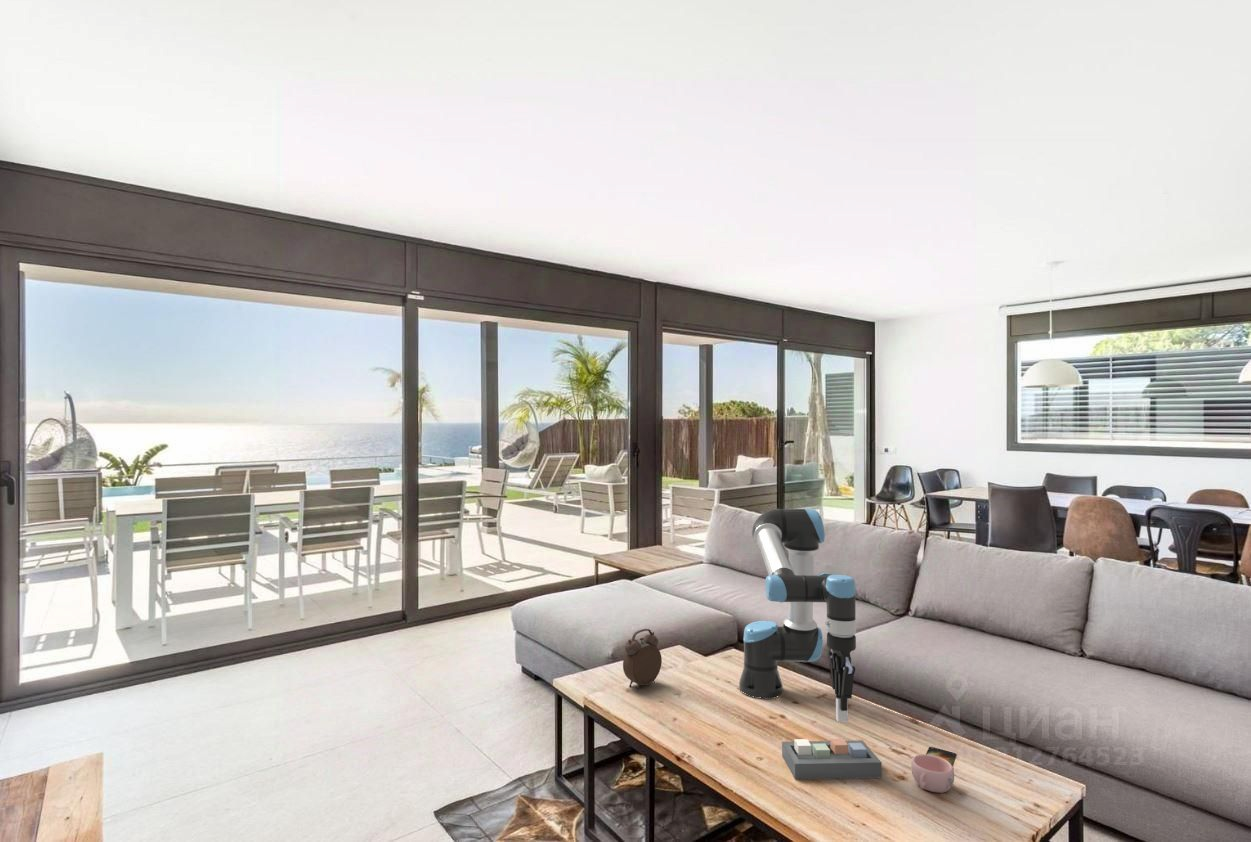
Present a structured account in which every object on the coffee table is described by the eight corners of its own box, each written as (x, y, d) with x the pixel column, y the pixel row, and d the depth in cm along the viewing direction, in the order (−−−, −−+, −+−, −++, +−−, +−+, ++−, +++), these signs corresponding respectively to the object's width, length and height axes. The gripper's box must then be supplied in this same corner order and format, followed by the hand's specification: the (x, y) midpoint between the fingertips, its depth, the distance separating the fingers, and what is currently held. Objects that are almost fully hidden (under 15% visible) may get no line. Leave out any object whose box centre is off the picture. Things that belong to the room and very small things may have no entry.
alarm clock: (649, 677, 234) (649, 623, 235) (663, 683, 229) (663, 627, 229) (619, 687, 225) (619, 631, 225) (632, 693, 219) (632, 635, 220)
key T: (830, 747, 172) (830, 738, 172) (843, 747, 172) (843, 738, 172) (835, 754, 169) (835, 745, 169) (848, 754, 169) (848, 744, 169)
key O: (794, 748, 172) (794, 739, 172) (807, 748, 172) (807, 739, 172) (798, 754, 168) (798, 745, 168) (811, 754, 168) (811, 745, 168)
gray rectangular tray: (782, 756, 176) (782, 741, 176) (862, 754, 177) (862, 740, 177) (795, 779, 164) (794, 763, 164) (881, 777, 165) (881, 762, 165)
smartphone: (956, 753, 177) (948, 775, 165) (956, 755, 177) (948, 778, 165) (929, 745, 181) (919, 767, 169) (929, 748, 181) (919, 769, 169)
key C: (812, 752, 172) (812, 743, 172) (825, 752, 172) (825, 743, 172) (816, 759, 168) (816, 750, 168) (830, 759, 169) (829, 749, 169)
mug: (921, 772, 168) (921, 749, 168) (960, 787, 160) (960, 763, 160) (900, 788, 160) (900, 765, 160) (941, 805, 152) (941, 780, 152)
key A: (848, 751, 172) (848, 743, 172) (861, 751, 172) (861, 742, 173) (853, 758, 169) (853, 749, 169) (866, 758, 169) (866, 749, 169)
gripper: (819, 626, 178) (819, 710, 177) (836, 641, 165) (837, 732, 164) (845, 626, 178) (845, 709, 178) (864, 640, 165) (865, 731, 165)
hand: (841, 720), depth 171 cm, fingers closed
